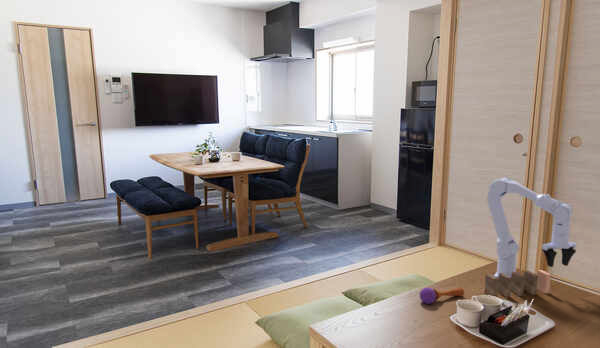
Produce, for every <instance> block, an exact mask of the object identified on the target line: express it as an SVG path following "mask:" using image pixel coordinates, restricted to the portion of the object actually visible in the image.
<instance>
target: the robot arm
mask: <svg viewBox="0 0 600 348" xmlns="http://www.w3.org/2000/svg"><path fill="white" fill-rule="evenodd" d="M488 188H489V189H488V193H487V197H486V200H487V205H488V208H489V211H490V214H491V218H492V221H493V224H494V229H495V232H496V237H497V238H496V254H497V265H496V266H497V267H496V272H495V274H494V275H493V276H495V277H496V278H498V277H499V273H504V274H506V275H508V276H510V277H511V275H512V272H517V255H516V254H517V253H518V252H519V249H520V247H519V245H518V243H517V242H516V241H515V238H514V236H512V234H511V233H510V228H509V225H508V222H507V221H508V220H507V218H506V214H505V211H504V207H503V204H502V199H503V197H504V196H505V195H506V194H510V193H511V194H512V193H516V194H518V195H520V196H522V197H524V198H527V199H529V200H531V201H533V202H534V204H535V206H536V207H537V208H540V209H542V210H543V211H545V212H548V213H549V214H552V216H553V223H552V232H551V233H552V234H551V242H548V243H544V244H541V245H542V246H541V251H542V252H543V254H544V256H545V260H546V264H547V266H548V267H551V268H553V267H554V263H555V258H556V255H557V253H558V252H557V251H555V250H560V251H561V265H563V266H566V267H567V266H569V264H570V261H571V259H572V257H573V256H574V255H575V253H576V252H577V250H576V249H577V243H576V242H570V241H569V239H570V228H571V227H570V226H571V216H572V215H573V213H574V211H573V210H574V209H573V207H572V206H571V205H570V204H568V203H567V202H563V201H561V200H557V199H555V198H553V197H551V195H550V194H548V193H546V194H545V193H542V194H538V193H537V192H535V191H534V190H531V189H530V188H527V187H526V186H524V185H523V184H521V183H519V182H517V181H515V180H513V179H511V178H509V177H502V178H499V179H495V180H493V181H492V182H491V183H490V185H489V186H488ZM562 202H563V203H562Z"/></svg>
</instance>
